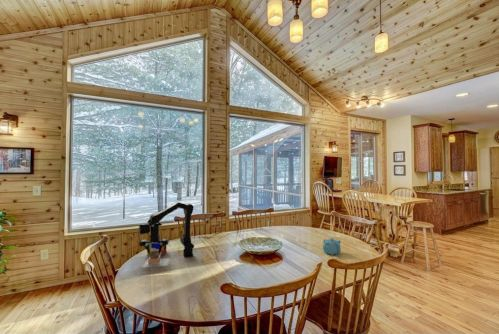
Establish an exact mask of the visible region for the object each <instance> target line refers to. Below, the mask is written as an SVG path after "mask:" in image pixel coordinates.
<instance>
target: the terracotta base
mask: <svg viewBox="0 0 499 334" xmlns="http://www.w3.org/2000/svg"><path fill="white" fill-rule="evenodd" d="M160 259H161V255H159V257H158V259H150V256H149V258H148V259H147V260H148V264H155V263H159V262H160Z"/></svg>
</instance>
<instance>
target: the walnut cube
mask: <svg viewBox="0 0 499 334" xmlns="http://www.w3.org/2000/svg"><path fill="white" fill-rule="evenodd" d="M149 257H150V259H158V257H159V249H151V251H150V255H149Z"/></svg>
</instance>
